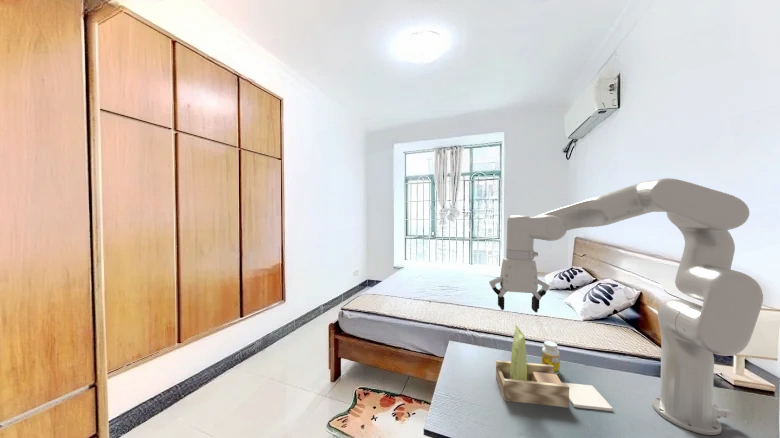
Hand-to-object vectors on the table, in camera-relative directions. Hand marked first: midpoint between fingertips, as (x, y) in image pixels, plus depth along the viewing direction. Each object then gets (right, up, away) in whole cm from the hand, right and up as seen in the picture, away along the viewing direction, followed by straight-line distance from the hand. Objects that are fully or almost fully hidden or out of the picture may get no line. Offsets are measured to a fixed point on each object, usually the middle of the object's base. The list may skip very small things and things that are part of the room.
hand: (517, 309), depth 82 cm
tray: (+4, -26, 0) cm, 26 cm away
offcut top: (+9, -24, -1) cm, 25 cm away
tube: (0, -26, +1) cm, 26 cm away
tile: (+19, -26, -3) cm, 32 cm away
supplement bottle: (+17, -26, +11) cm, 32 cm away
